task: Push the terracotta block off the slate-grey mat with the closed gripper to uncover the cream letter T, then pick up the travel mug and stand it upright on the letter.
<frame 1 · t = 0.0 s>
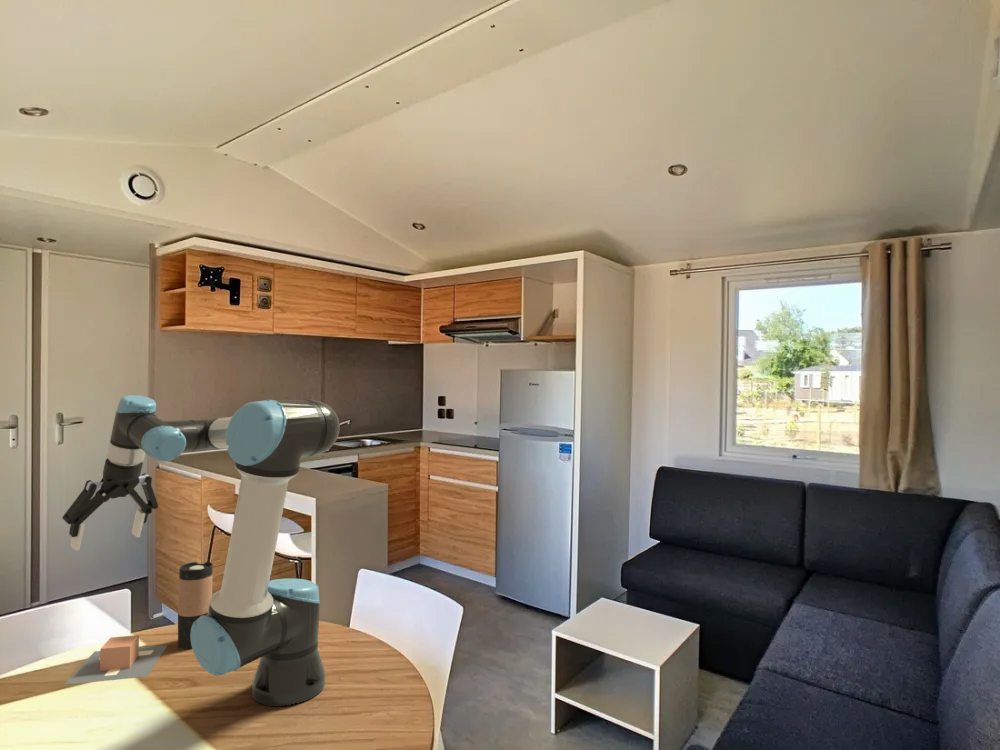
hand: (106, 541, 140), 28 cm above the table, tool tilted 20°, fingers open, 13 cm apart
letter mat: (119, 666, 136), on the table
travel mug: (194, 645, 147), on the table
terracotta block: (119, 663, 136), point 1 cm above the table, touching letter mat
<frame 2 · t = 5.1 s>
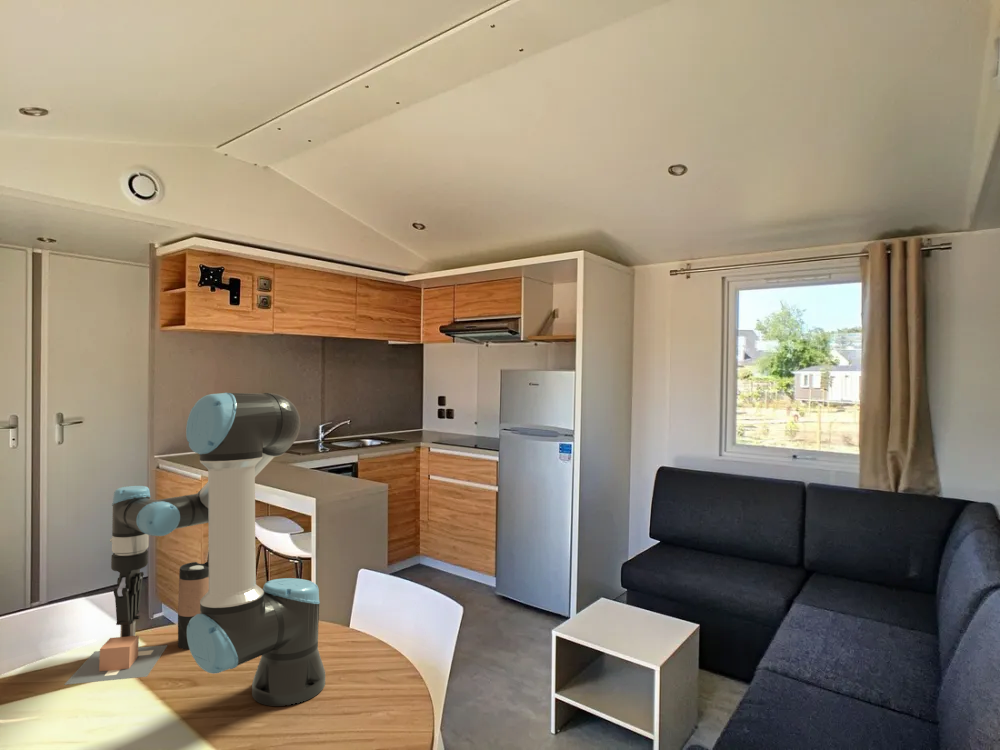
hand: (127, 649, 140), 2 cm above the table, tool pointing down, fingers closed
terracotta block: (119, 663, 135), point 1 cm above the table, touching gripper
everything else where it was.
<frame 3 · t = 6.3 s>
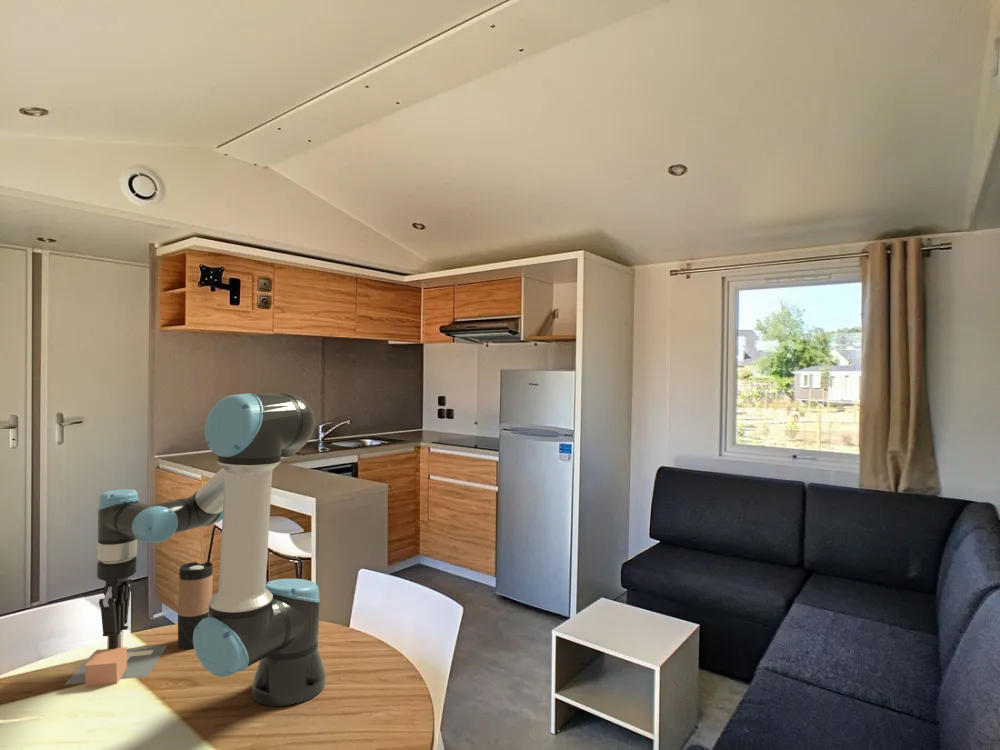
hand: (114, 661, 133), 2 cm above the table, tool pointing down, fingers closed
terracotta block: (106, 677, 129), point 1 cm above the table, tilted 7°, touching gripper, letter mat
everything else where it was.
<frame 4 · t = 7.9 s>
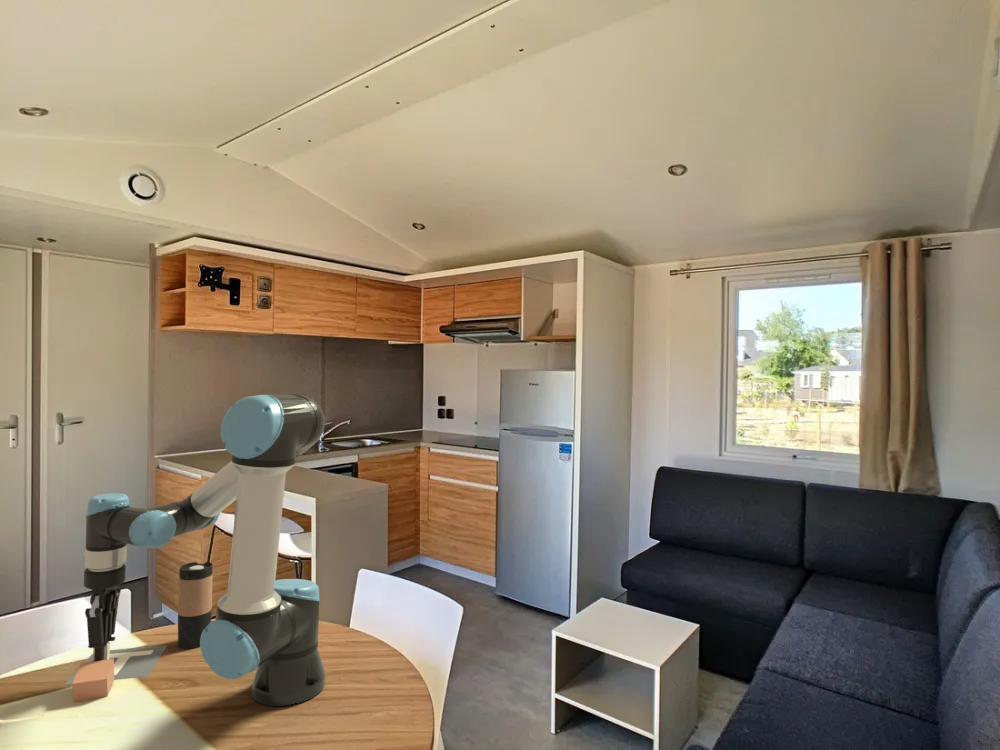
hand: (100, 673, 127), 3 cm above the table, tool pointing down, fingers closed
terracotta block: (94, 690, 123), point 1 cm above the table, tilted 15°, touching gripper
everything else where it was.
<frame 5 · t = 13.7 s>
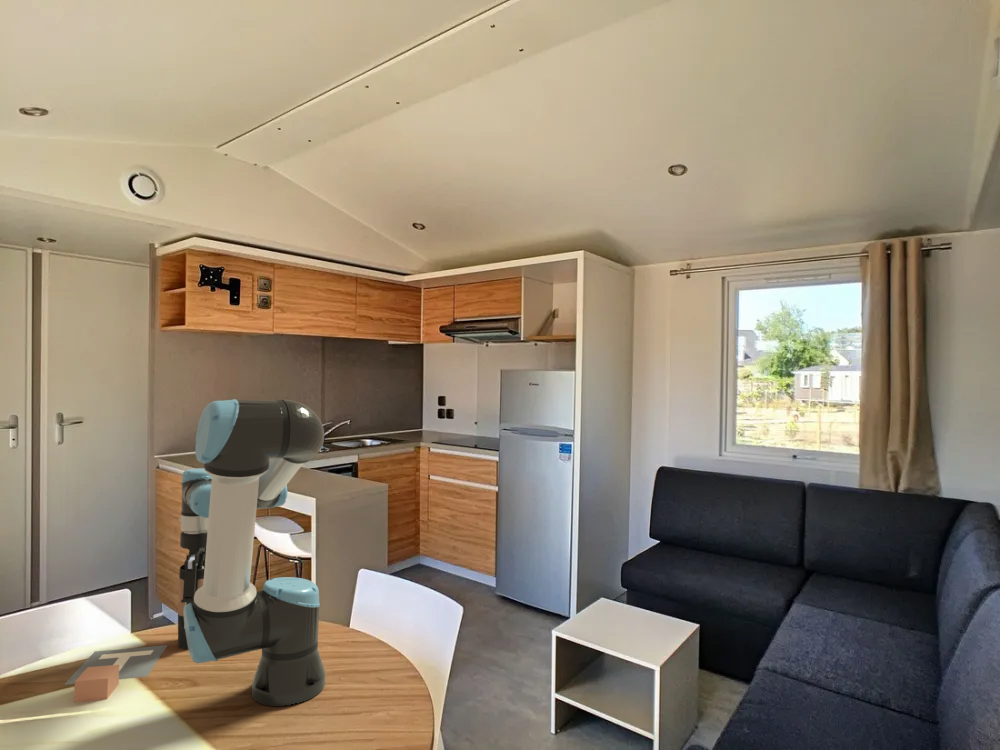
hand: (194, 620, 147), 6 cm above the table, tool pointing down, fingers closed on travel mug, 8 cm apart
travel mug: (194, 645, 147), on the table, touching gripper
terracotta block: (96, 696, 123), on the table
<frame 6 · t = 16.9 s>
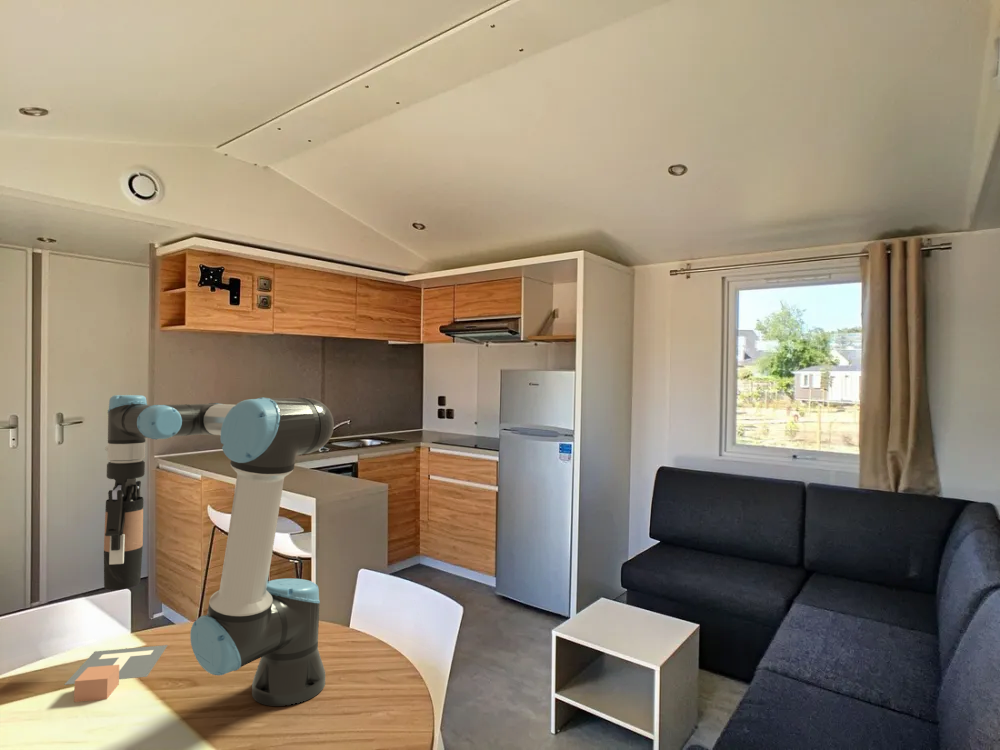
hand: (123, 558, 136), 25 cm above the table, tool pointing down, fingers closed on travel mug, 8 cm apart
travel mug: (122, 585, 136), point 19 cm above the table, touching gripper
everything else where it was.
when the fingers open (8 cm above the table, at t = 20.4 s): travel mug drops 1 cm, resting on letter mat.
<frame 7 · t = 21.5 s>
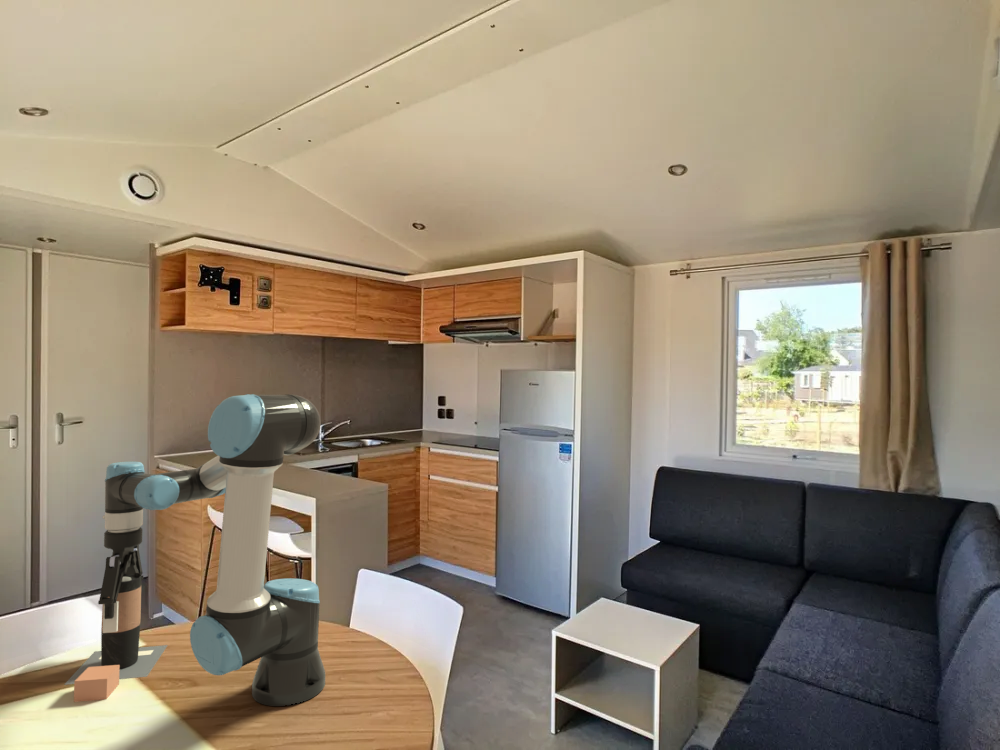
hand: (121, 620, 136), 11 cm above the table, tool pointing down, fingers open, 13 cm apart
travel mug: (119, 664, 136), resting on letter mat
everything else where it was.
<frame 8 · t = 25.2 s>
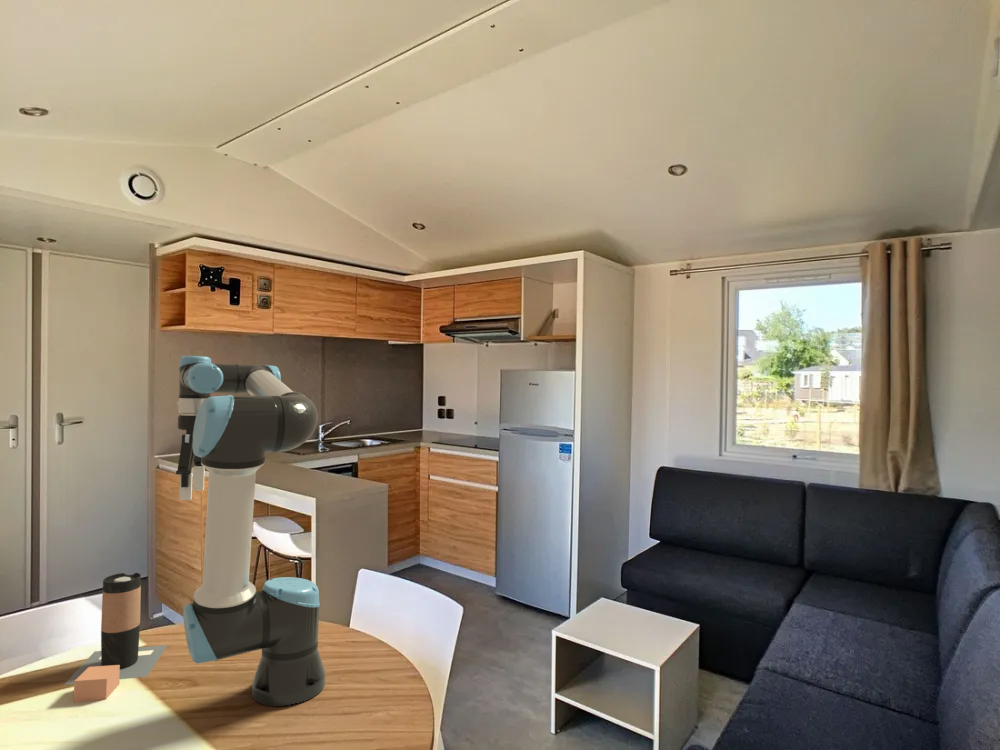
hand: (192, 494, 154), 37 cm above the table, tool pointing down, fingers open, 13 cm apart
nothing on the table moved.
at the end: travel mug 0.0 cm off-centre on the letter mat, point 0.4 cm above the letter mat's base; travel mug tilted 0°; terracotta block touching table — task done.
